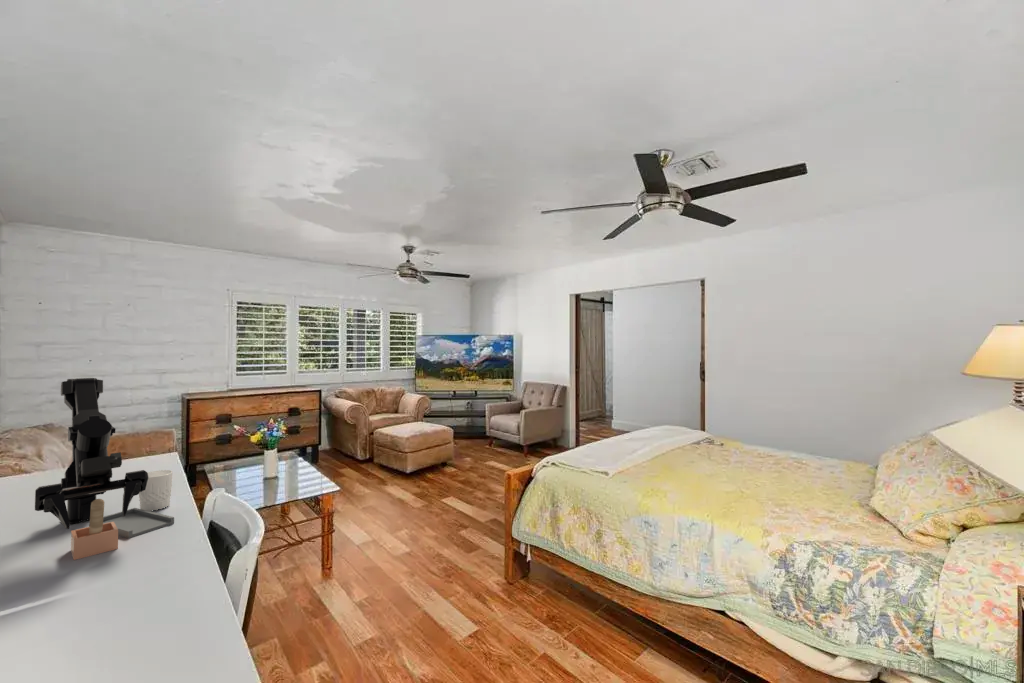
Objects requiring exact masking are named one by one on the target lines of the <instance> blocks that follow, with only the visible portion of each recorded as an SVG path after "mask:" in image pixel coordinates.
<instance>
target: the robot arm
mask: <svg viewBox="0 0 1024 683" xmlns="http://www.w3.org/2000/svg"><path fill="white" fill-rule="evenodd" d="M103 393H104V380H103V379H98V378H97V377H81V378H80V377H79V378H67V379H66V381H61V382H60V396H63V402H64V404H65V405H66V406H67V407H68V409H70V411H71V426H68V428H67V441H68V442H71V448H72V449H71V450H72V457H71V458H72V460H71V463H70V464H69V465H68V467H67V469H66V470H65V471H64V478H60V483H55V484H48V485H42V486H38V487H37V488H36V489H35V493H34V495H35V496H34V511H37V512H41V511H43V513H50V514H52V515H53V516H54V517H56V518H57V520H59V522H60V523H61V524H62V525H63V526H64V528H65V529H66V530H68V529H70V525H74V524H78V523H81V522H85V521H88V520H89V521H90V510H91V503H92V502H93V501H94V500H96V499H97V495H98V496H99V495H104V493H106V492H108V491H113V490H119V489H123V494H122V508H121V509H122V511H121V512H122V514H123V517H124V516H126V513H127V510H129V506H130V503H131V502H132V500H133V499H134V496H139V492H142V491H144V490H145V489H146V485H147V481H148V473H147V472H148V471H146V470H144V469H142V470H136V471H135V470H134V471H130V472H125V476H124V478H122V479H117V480H111V478H113V469H116V468H121V467H122V464H123V460H122V453H121V452H114V453H110V455H109V454H108V446H109V445H110V440H111V437H112V436H113V434H116V428H115V427H114V426H113V425H112V423H111V422H109V420H107V415H106V414H104V413H102V412H100V409H99V402H98V401H99V398H100V395H101V394H103ZM66 502H67V503H66ZM66 504H67V505H66Z"/></svg>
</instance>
